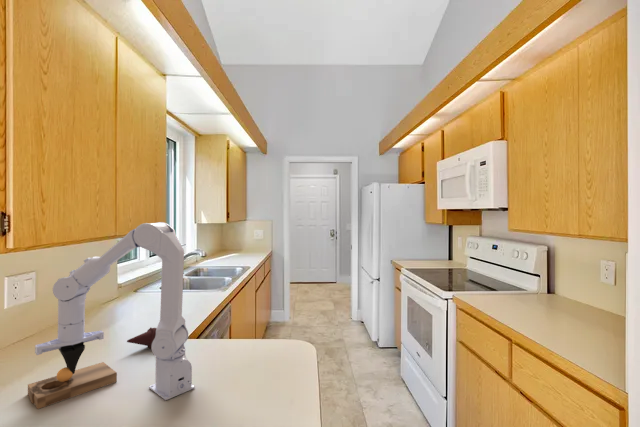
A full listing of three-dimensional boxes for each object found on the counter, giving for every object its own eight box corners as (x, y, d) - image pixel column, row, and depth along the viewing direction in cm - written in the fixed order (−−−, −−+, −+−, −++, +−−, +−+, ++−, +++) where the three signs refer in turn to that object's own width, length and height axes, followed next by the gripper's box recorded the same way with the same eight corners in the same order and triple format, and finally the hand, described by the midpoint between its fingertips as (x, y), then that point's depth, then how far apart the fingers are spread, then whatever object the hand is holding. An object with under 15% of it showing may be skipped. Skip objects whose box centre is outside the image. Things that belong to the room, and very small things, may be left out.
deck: (116, 381, 93) (116, 372, 93) (36, 409, 80) (36, 399, 80) (103, 370, 100) (103, 361, 100) (26, 394, 86) (26, 384, 86)
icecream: (130, 337, 108) (179, 331, 118) (126, 325, 114) (173, 320, 124) (127, 357, 109) (175, 349, 119) (123, 344, 115) (170, 338, 125)
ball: (55, 380, 85) (65, 386, 87) (68, 368, 87) (77, 374, 89) (51, 374, 88) (61, 380, 90) (64, 362, 89) (73, 369, 91)
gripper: (97, 312, 97) (96, 359, 98) (32, 324, 86) (31, 377, 87) (106, 317, 93) (105, 367, 93) (39, 331, 82) (38, 387, 82)
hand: (70, 373), depth 90 cm, fingers closed, pressing on ball
